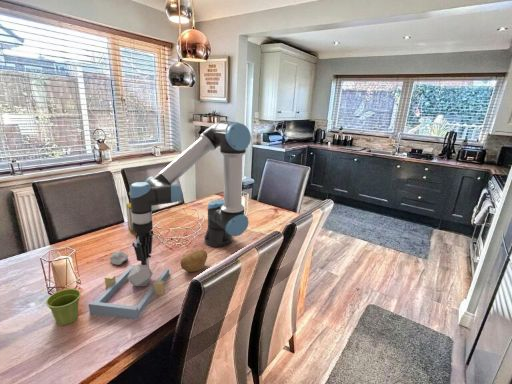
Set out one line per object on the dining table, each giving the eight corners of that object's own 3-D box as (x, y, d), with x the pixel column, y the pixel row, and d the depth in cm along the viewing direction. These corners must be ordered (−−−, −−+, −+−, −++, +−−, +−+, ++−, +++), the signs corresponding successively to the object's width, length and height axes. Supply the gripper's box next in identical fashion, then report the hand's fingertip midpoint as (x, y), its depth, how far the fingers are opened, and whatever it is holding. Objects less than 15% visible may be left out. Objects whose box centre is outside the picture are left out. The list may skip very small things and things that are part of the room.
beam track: (175, 274, 121) (175, 264, 119) (145, 320, 95) (144, 308, 93) (125, 269, 123) (124, 259, 121) (81, 312, 97) (79, 300, 95)
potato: (213, 265, 129) (213, 250, 127) (191, 280, 118) (191, 263, 116) (197, 258, 134) (197, 244, 132) (175, 272, 123) (174, 256, 120)
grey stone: (132, 258, 132) (131, 248, 131) (123, 267, 124) (122, 257, 123) (115, 256, 133) (114, 247, 131) (105, 265, 125) (103, 255, 124)
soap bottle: (154, 229, 163) (152, 190, 156) (131, 233, 156) (127, 193, 149) (151, 224, 169) (148, 187, 162) (128, 229, 162) (125, 190, 155)
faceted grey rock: (140, 295, 108) (154, 273, 109) (119, 284, 107) (134, 261, 108) (145, 287, 117) (159, 267, 117) (127, 277, 116) (140, 256, 116)
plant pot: (71, 306, 99) (68, 285, 97) (90, 314, 96) (87, 293, 94) (43, 323, 91) (39, 301, 89) (63, 333, 88) (58, 310, 85)
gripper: (141, 214, 118) (144, 263, 125) (124, 226, 105) (128, 279, 112) (158, 215, 117) (160, 264, 124) (143, 228, 105) (146, 282, 112)
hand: (145, 272), depth 118 cm, fingers closed
